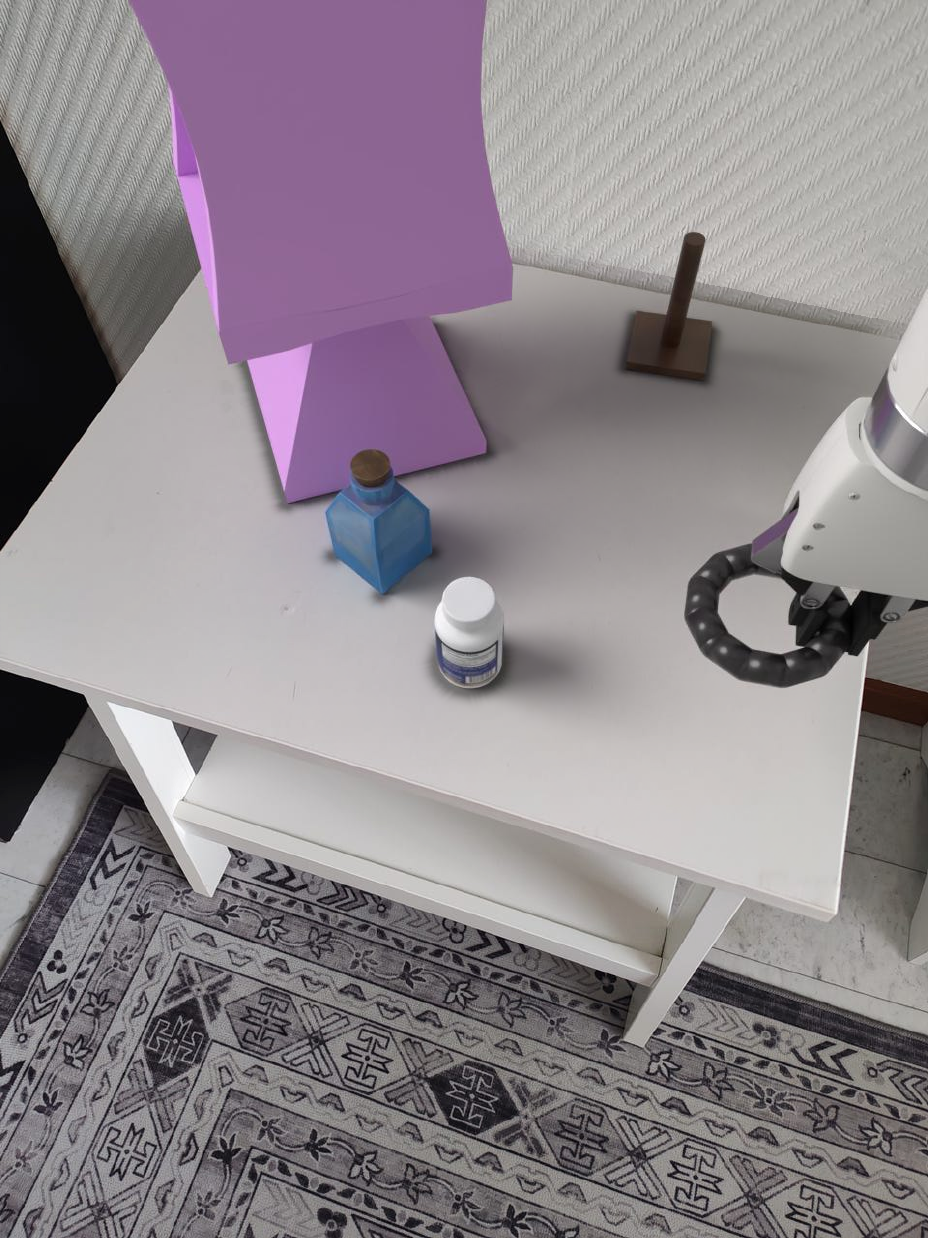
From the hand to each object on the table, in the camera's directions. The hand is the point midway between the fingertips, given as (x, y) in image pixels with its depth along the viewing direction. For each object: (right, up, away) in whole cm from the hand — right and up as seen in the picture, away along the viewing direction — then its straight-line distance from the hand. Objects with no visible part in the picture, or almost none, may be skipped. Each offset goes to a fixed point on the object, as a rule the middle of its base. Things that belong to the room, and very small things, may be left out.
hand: (826, 630), depth 55 cm
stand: (-1, +29, +38) cm, 47 cm away
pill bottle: (-22, -3, +19) cm, 29 cm away
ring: (-4, +1, 0) cm, 4 cm away
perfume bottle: (-30, +6, +24) cm, 39 cm away
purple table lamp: (-33, +22, +34) cm, 52 cm away
